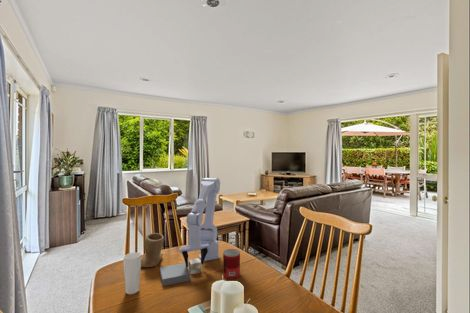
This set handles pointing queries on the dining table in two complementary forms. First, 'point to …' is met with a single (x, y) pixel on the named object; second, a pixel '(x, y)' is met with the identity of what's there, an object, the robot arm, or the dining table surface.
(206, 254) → the robot arm
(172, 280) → the base
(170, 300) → the dining table surface
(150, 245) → the stone cup
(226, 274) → the canned food
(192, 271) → the cube
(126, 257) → the drinking glass
